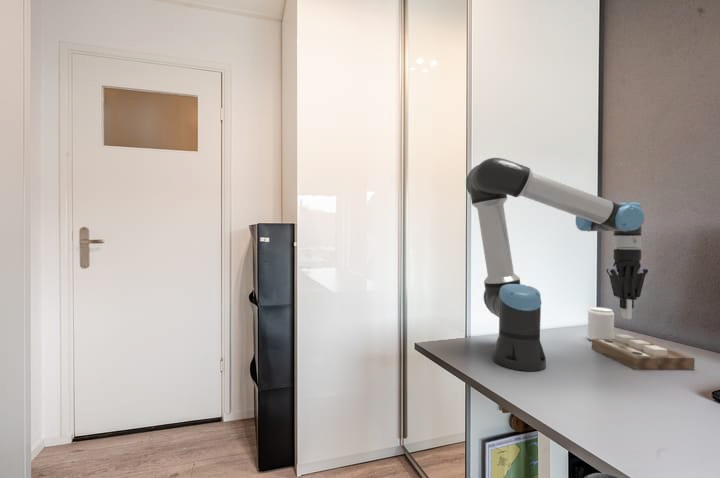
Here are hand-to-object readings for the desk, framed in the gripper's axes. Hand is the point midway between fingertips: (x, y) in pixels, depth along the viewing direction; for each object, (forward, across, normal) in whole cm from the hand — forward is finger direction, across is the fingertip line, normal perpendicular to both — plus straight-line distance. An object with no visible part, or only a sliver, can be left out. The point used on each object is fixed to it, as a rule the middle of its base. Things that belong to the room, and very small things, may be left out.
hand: (626, 318), depth 122 cm
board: (+12, -1, -6) cm, 13 cm away
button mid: (+10, -1, -6) cm, 11 cm away
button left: (+10, -1, 0) cm, 10 cm away
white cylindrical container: (+12, 0, +13) cm, 18 cm away
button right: (+10, -1, -12) cm, 15 cm away
